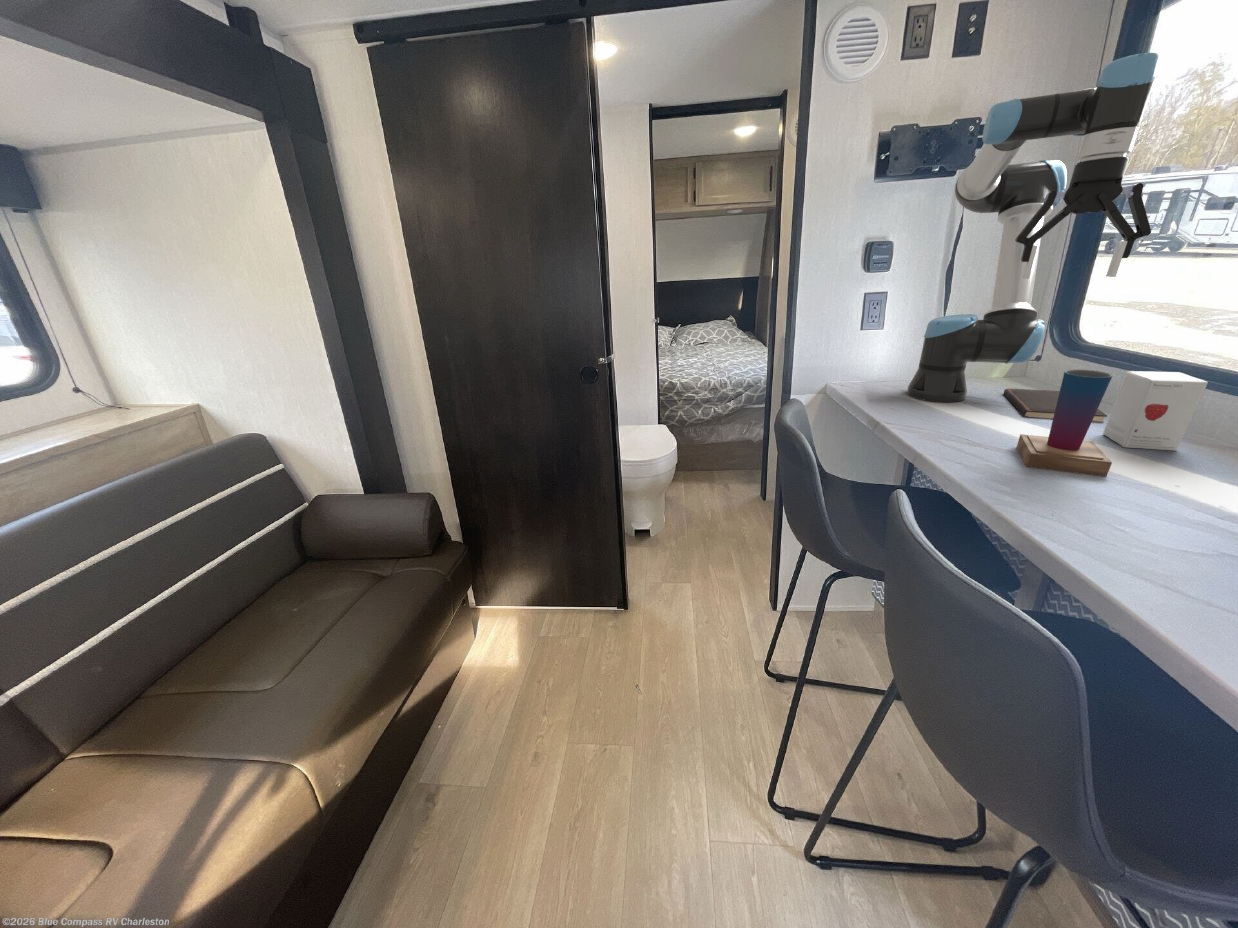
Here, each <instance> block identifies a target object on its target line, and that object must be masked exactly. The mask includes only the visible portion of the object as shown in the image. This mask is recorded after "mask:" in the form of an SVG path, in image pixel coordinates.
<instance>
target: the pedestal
mask: <svg viewBox="0 0 1238 928" xmlns="http://www.w3.org/2000/svg"><path fill="white" fill-rule="evenodd" d="M1048 438H1049V436H1042V435H1032V434H1031V435H1030V434H1024V433H1023V434H1019V438H1018V441H1017V443H1016V448H1017V450H1018V453H1019V455H1020V457H1021V458H1022V459H1023V462H1024V464H1025V466H1026V468H1033V469H1041V470H1048V471H1049V470H1050V471H1055V472H1056V471H1057V472H1067V473H1072V474H1080V475H1091V476H1096V477H1097V476H1099V477H1107V476H1108V474H1109V471H1110V468H1111V466H1112V464H1113V461H1111V459H1110V458H1109V457H1108V456H1107V455H1106V454H1105V453H1104V452H1103V450H1102V449H1100V447H1099V446H1098V445H1097V444H1096V443H1095V442H1094V441H1092V440H1085V439H1084V440H1083V442H1082V444H1081V447H1080V449H1078V450H1063V449H1058V448H1054V447H1051V446H1049V445H1048V444H1047V442H1048Z"/></svg>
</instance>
